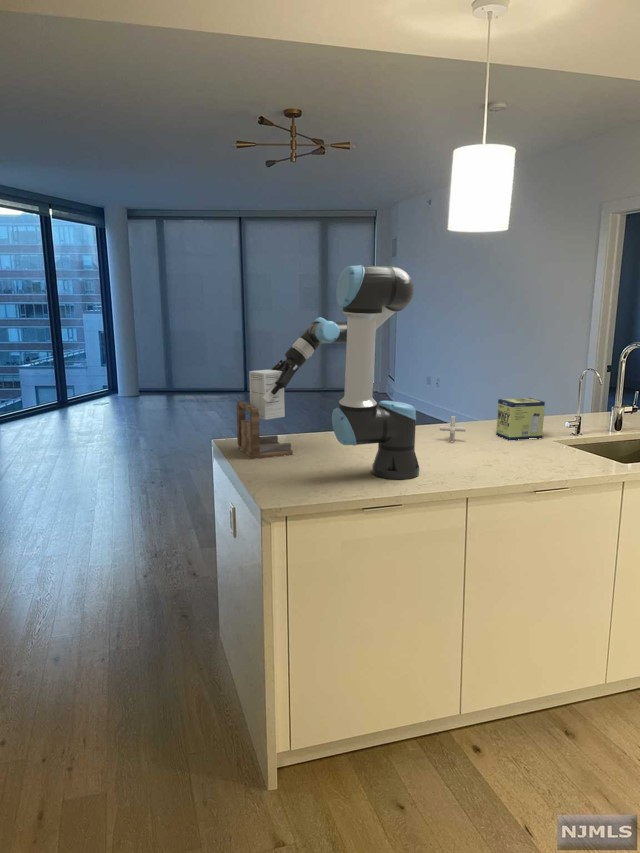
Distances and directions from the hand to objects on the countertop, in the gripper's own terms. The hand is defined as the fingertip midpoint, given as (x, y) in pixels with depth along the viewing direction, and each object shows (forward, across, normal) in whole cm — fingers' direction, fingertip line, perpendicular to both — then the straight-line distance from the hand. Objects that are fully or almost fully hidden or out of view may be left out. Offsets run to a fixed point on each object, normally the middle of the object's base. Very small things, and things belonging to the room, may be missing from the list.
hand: (259, 397), depth 217 cm
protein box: (-60, -19, -89) cm, 109 cm away
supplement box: (+3, 0, -7) cm, 8 cm away
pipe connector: (-39, -14, -68) cm, 80 cm away
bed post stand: (+13, 0, -15) cm, 20 cm away
